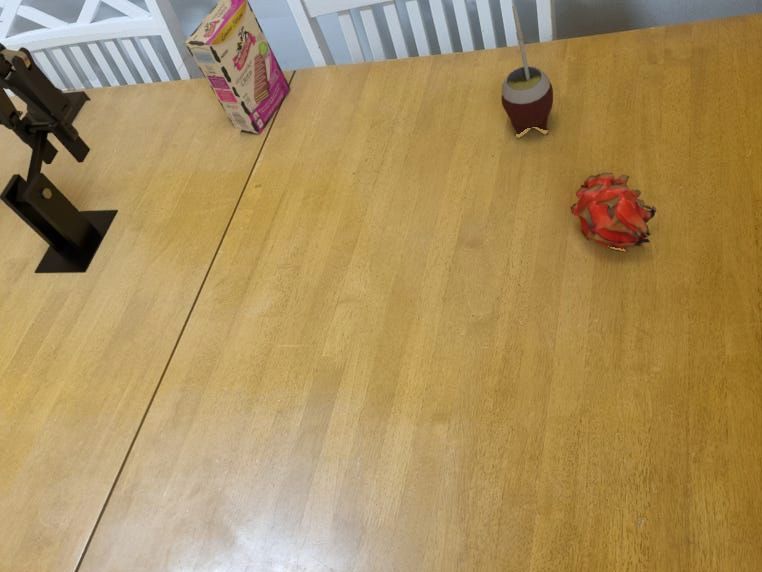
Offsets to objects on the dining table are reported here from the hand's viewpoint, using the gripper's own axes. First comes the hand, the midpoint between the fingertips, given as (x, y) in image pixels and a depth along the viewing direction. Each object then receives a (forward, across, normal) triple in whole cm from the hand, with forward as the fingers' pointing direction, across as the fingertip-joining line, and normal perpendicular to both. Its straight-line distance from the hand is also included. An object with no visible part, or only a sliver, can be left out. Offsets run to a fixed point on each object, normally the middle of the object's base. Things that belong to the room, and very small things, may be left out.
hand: (68, 156), depth 108 cm
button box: (+9, -20, +21) cm, 30 cm away
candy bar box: (+9, +22, +19) cm, 30 cm away
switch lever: (-2, 0, -5) cm, 5 cm away
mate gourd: (+9, +67, +12) cm, 69 cm away
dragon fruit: (+9, +80, -9) cm, 81 cm away
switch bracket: (+9, 0, -9) cm, 13 cm away
